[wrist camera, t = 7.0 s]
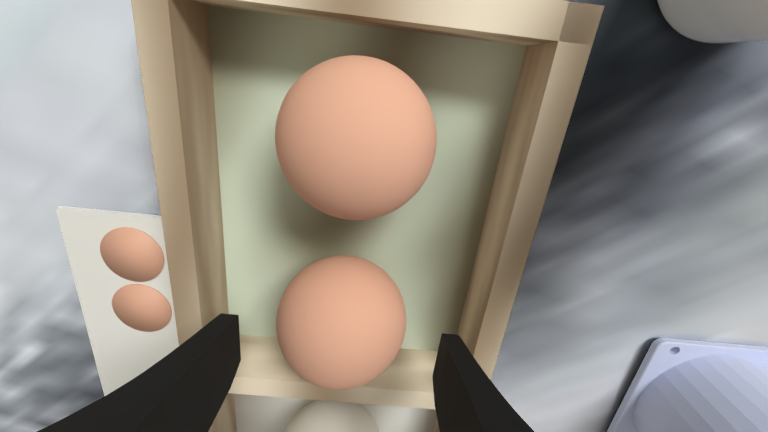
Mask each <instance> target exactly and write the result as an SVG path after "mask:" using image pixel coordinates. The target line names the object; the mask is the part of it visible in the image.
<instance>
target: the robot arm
mask: <svg viewBox="0 0 768 432" xmlns="http://www.w3.org/2000/svg"><path fill="white" fill-rule="evenodd" d="M240 361H241V351H240V333H239V315H235V314H224V313H221V314H219V315H218V316H217V317H215V318H214V319H213V320H212V321H210V322H209V323H208V324H207V325H205V326H204V327H203V328H202V329H200V330H199V331H198V332H197V333H195V334H194V335H193V336H191V337H190V338H189V339H188V340H186V341H185V342H184V343H182V344H181V345H180V346H179V347H177V348H176V349H175V350H173V351H172V352H171V353H169V354H168V355H167V356H165V357H164V358H163V359H161V360H160V361H158V362H157V363H156V364H154V365H153V366H151V367H150V368H148V369H147V370H146V371H144V372H143V373H141V374H140V375H138V376H137V377H135V378H134V379H132V380H131V381H129V382H127V383H126V384H124V385H123V386H121V387H119V388H118V389H116V390H114V391H113V392H111V393H109V394H108V395H106V396H104V397H103V398H101V399H99V400H97V401H95V402H94V403H92V404H90V405H88V406H86V407H84V408H82V409H81V410H79V411H77V412H75V413H73V414H71V415H69V416H68V417H66V418H64V419H62V420H60V421H58V422H56V423H54V424H52V425H50V426H48V427H46V428H44V429H42V430H40V431H37V432H208V431H209V429H210V427H211V425H212V423H213V421H214V420H215V418H216V416H217V414H218V412H219V410H220V408H221V406H222V404H223V402H224V400H225V398H226V396H227V394H228V392H229V390H230V388H231V385H232V383H233V380H234V378H235V375H236V372H237V369H238V367H239V364H240ZM432 378H433V392H434V403H435V409H436V415H437V420H438V425H439V430H440V432H534V431H533V430H532V429H531V428H530V427H529V425H528V424H527V423H526V422H525V421H524V420H523V419H522V418H521V417H520V416H519V415H518V414H517V413H516V411H515V410H514V409H513V408H512V407H511V406H510V404H509V403H508V402H507V401H506V400H505V398H504V397H503V396H502V395H501V393H500V392H499V391H498V390H497V388H496V387H495V386H494V384H493V383H492V382H491V380H490V379H489V378H488V376H487V375H486V374H485V372H484V371H483V370H482V368H481V367H480V365H479V364H478V362H477V361H476V360H475V358H474V357H473V355H472V354H471V352H470V351H469V349H468V348H467V346H466V345H465V343H464V342H463V340H462V339H461V337H460V336H459V335H456V334H445V333H442V334H441V339H440V344H439V348H438V353H437V357H436V362H435V366H434V371H433V376H432ZM607 432H768V347H763V346H751V345H740V344H729V343H718V342H707V341H696V340H685V339H674V338H658V339H656V340H655V341H653V343H652V344H651V346H650V348H649V350H648V352H647V354H646V356H645V358H644V360H643V362H642V363H641V365H640V367H639V369H638V371H637V373H636V375H635V377H634V379H633V381H632V383H631V385H630V387H629V389H628V391H627V393H626V395H625V397H624V399H623V401H622V403H621V405H620V407H619V408H618V410H617V412H616V414H615V416H614V418H613V420H612V422H611V424H610V426H609V428H608V430H607Z"/></svg>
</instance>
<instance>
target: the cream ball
mask: <svg viewBox="0 0 768 432" xmlns="http://www.w3.org/2000/svg"><path fill="white" fill-rule="evenodd" d="M284 432H380V431H379V428H378V426H377V424H376V422H375V420H374V418H373V417H372V415H371V414H370V413H369V412H368V410H367V409H366V408H365V407H363V406H362V405H361V404H359V403H348V402H335V401H322V400H314V401H312V402H310V403H308V404H307V405H305V406H304V407H303V408H301V409H300V410H299V411H298V412H297V413H296V414H295V415H294V417H293V418H292V419H291V421H290V422H289V423H288V425H287V427H286V429H285V431H284Z"/></svg>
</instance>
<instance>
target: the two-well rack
mask: <svg viewBox="0 0 768 432" xmlns="http://www.w3.org/2000/svg"><path fill="white" fill-rule="evenodd" d="M131 4H132V11H133V18H134V25H135V33H136V40H137V47H138V54H139V61H140V68H141V76H142V83H143V90H144V97H145V104H146V112H147V119H148V126H149V133H150V140H151V148H152V155H153V162H154V169H155V176H156V184H157V191H158V198H159V205H160V212H161V219H162V227H163V234H164V241H165V248H166V255H167V263H168V270H169V277H170V284H171V291H172V299H173V306H174V313H175V320H176V327H177V335H178V342H179V346H180V345H181V344H182V343H184V342H185V341H186V340H188V339H189V338H190V337H191V336H193V335H194V334H195V333H197V332H198V331H199V330H200V329H202V328H203V327H204V326H205V325H207V324H208V323H209V322H210V321H212V320H213V319H214V318H215V317H217V316H218V315H219V314H221V313H224V314H235V315H239V333H240V351H241V361H240V364H239V367H238V369H237V372H236V375H235V378H234V380H233V383H232V385H231V388H230V390H229V392H228V394H227V396H226V398H225V400H224V402H223V404H222V406H221V408H220V410H219V412H218V414H217V416H216V418H215V420H214V421H213V423H212V425H211V427H210V429H209V431H208V432H284V431H285V429H286V427H287V425H288V423H289V422H290V421H291V419H292V418H293V417H294V415H295V414H296V413H297V412H298V411H299V410H300V409H301V408H303V407H304V406H305V405H307V404H308V403H310V402H312V401H314V400H322V401H335V402H348V403H359V404H361V405H362V406H363V407H365V408H366V409H367V410H368V412H369V413H370V414H371V415H372V417H373V418H374V420H375V422H376V424H377V426H378V428H379V431H380V432H440V430H439V425H438V420H437V415H436V409H435V403H434V392H433V378H432V376H433V371H434V366H435V362H436V357H437V353H438V348H439V344H440V339H441V334H442V333H445V334H456V335H459V336H460V337H461V339H462V340H463V342H464V343H465V345H466V346H467V348H468V349H469V351H470V352H471V354H472V355H473V357H474V358H475V360H476V361H477V362H478V364H479V365H480V367H481V368H482V370H483V371H484V372H485V374H486V375H487V376H488V378H489V379H490V380H491V376H492V373H493V370H494V367H495V363H496V360H497V357H498V353H499V350H500V347H501V344H502V340H503V337H504V334H505V330H506V327H507V324H508V321H509V317H510V314H511V311H512V307H513V304H514V301H515V298H516V294H517V291H518V288H519V284H520V281H521V278H522V275H523V271H524V268H525V265H526V261H527V258H528V255H529V252H530V248H531V245H532V242H533V238H534V235H535V232H536V229H537V225H538V222H539V219H540V216H541V212H542V209H543V206H544V202H545V199H546V196H547V193H548V189H549V186H550V183H551V179H552V176H553V173H554V170H555V166H556V163H557V160H558V156H559V153H560V150H561V147H562V143H563V140H564V137H565V133H566V130H567V127H568V124H569V120H570V117H571V114H572V110H573V107H574V104H575V101H576V97H577V94H578V91H579V88H580V84H581V81H582V78H583V74H584V71H585V68H586V65H587V61H588V58H589V55H590V51H591V48H592V45H593V42H594V38H595V35H596V32H597V28H598V25H599V22H600V19H601V15H602V12H603V9H604V6H602V5H594V4H587V3H579V2H572V1H564V0H131ZM349 55H360V56H368V57H373V58H377V59H380V60H383V61H386V62H388V63H390V64H392V65H394V66H396V67H397V68H399V69H400V70H402V71H403V72H404V73H406V74H407V75H408V76H409V77H410V78H411V79H412V80H413V81H414V82H415V83H416V84H417V86H418V87H419V88H420V89H421V91H422V92H423V94H424V96H425V97H426V99H427V101H428V103H429V105H430V108H431V110H432V113H433V116H434V120H435V125H436V132H437V144H436V153H435V157H434V162H433V165H432V168H431V170H430V173H429V175H428V177H427V179H426V181H425V183H424V184H423V185H422V187H421V188H420V190H419V191H418V192H417V193H416V194H415V195H414V196H413V197H412V198H411V199H410V200H409V201H408V202H407V203H405V204H404V205H403V206H401V207H400V208H398V209H397V210H395V211H393V212H391V213H389V214H387V215H384V216H381V217H378V218H373V219H368V220H347V219H341V218H337V217H333V216H330V215H328V214H325V213H323V212H321V211H319V210H317V209H316V208H314V207H312V206H311V205H310V204H308V203H307V202H305V201H304V200H303V199H302V198H301V197H300V196H299V195H298V194H297V193H296V192H295V190H294V189H293V188H292V187H291V185H290V184H289V182H288V181H287V179H286V177H285V175H284V173H283V171H282V169H281V166H280V163H279V160H278V157H277V152H276V146H275V126H276V121H277V116H278V113H279V110H280V107H281V104H282V102H283V100H284V98H285V96H286V94H287V92H288V91H289V90H290V88H291V87H292V85H293V84H294V83H295V82H296V81H297V80H298V79H299V78H300V76H302V75H303V74H304V73H305V72H307V71H308V70H309V69H311V68H313V67H314V66H316V65H318V64H319V63H322V62H324V61H327V60H329V59H332V58H336V57H340V56H349ZM337 255H350V256H356V257H360V258H364V259H366V260H368V261H371V262H372V263H374V264H376V265H378V266H379V267H380V268H382V269H383V270H384V271H385V272H386V273H387V274H388V275H389V276H390V277H391V278H392V280H393V281H394V282H395V284H396V285H397V287H398V289H399V291H400V293H401V295H402V298H403V301H404V305H405V310H406V331H405V336H404V340H403V343H402V346H401V348H400V350H399V353H398V355H397V356H396V358H395V359H394V361H393V362H392V364H391V365H390V366H389V367H388V368H387V369H386V370H385V371H384V372H383V373H382V374H381V375H380V376H379V377H377V378H376V379H374V380H372V381H371V382H369V383H367V384H365V385H362V386H360V387H357V388H353V389H346V390H333V389H326V388H322V387H319V386H316V385H314V384H311V383H310V382H308V381H306V380H305V379H303V378H302V377H300V376H299V375H298V374H297V373H296V372H295V371H294V370H293V369H292V368H291V367H290V365H289V364H288V362H287V361H286V359H285V357H284V356H283V354H282V351H281V349H280V346H279V343H278V339H277V331H276V319H277V311H278V307H279V303H280V300H281V298H282V295H283V293H284V291H285V290H286V288H287V286H288V285H289V283H290V282H291V281H292V280H293V279H294V277H295V276H296V275H297V274H298V273H299V272H300V271H302V270H303V269H304V268H306V267H307V266H309V265H310V264H312V263H314V262H316V261H318V260H320V259H323V258H326V257H331V256H337Z"/></svg>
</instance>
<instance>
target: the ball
mask: <svg viewBox="0 0 768 432" xmlns="http://www.w3.org/2000/svg"><path fill="white" fill-rule="evenodd" d="M436 144H437V132H436V125H435V120H434V116H433V113H432V110H431V108H430V105H429V103H428V101H427V99H426V97H425V96H424V94H423V92H422V91H421V89H420V88H419V87H418V86H417V84H416V83H415V82H414V81H413V80H412V79H411V78H410V77H409V76H408V75H407V74H406V73H404V72H403V71H402V70H400V69H399V68H397V67H396V66H394V65H392V64H390V63H388V62H386V61H383V60H380V59H377V58H373V57H368V56H360V55H349V56H340V57H336V58H332V59H329V60H327V61H324V62H322V63H319V64H318V65H316V66H314V67H313V68H311V69H309V70H308V71H307V72H305V73H304V74H303V75H302V76H300V78H299V79H298V80H297V81H296V82H295V83H294V84H293V85H292V87H291V88H290V90H289V91H288V92H287V94H286V96H285V98H284V100H283V102H282V104H281V107H280V110H279V113H278V116H277V121H276V126H275V146H276V152H277V157H278V160H279V163H280V166H281V169H282V171H283V173H284V175H285V177H286V179H287V181H288V182H289V184H290V185H291V187H292V188H293V189H294V190H295V192H296V193H297V194H298V195H299V196H300V197H301V198H302V199H303V200H304V201H305V202H307V203H308V204H310V205H311V206H312V207H314V208H316V209H317V210H319V211H321V212H323V213H325V214H328V215H330V216H333V217H337V218H341V219H347V220H368V219H373V218H378V217H381V216H384V215H387V214H389V213H391V212H393V211H395V210H397V209H398V208H400V207H401V206H403V205H404V204H405V203H407V202H408V201H409V200H410V199H411V198H412V197H413V196H414V195H415V194H416V193H417V192H418V191H419V190H420V188H421V187H422V185H423V184H424V183H425V181H426V179H427V177H428V175H429V173H430V170H431V168H432V165H433V162H434V157H435V153H436Z"/></svg>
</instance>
